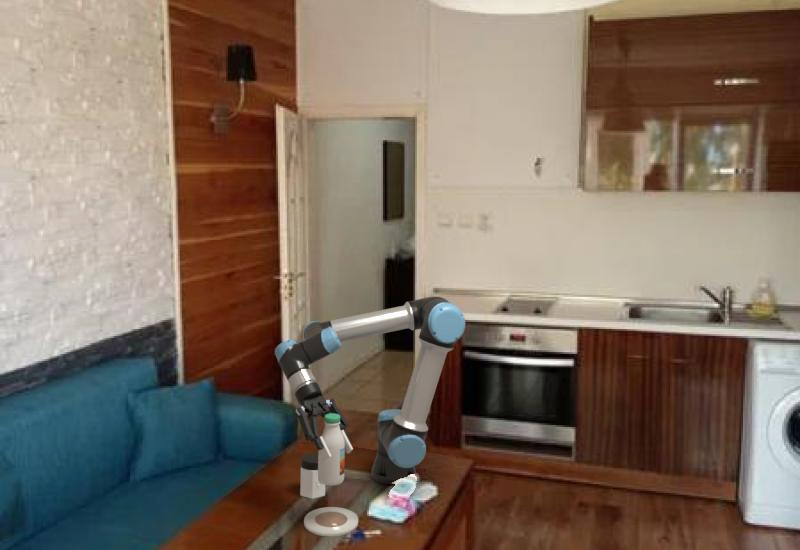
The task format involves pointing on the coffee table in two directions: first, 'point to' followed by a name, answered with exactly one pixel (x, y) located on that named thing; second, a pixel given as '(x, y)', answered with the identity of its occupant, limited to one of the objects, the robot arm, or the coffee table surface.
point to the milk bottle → (332, 452)
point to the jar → (310, 477)
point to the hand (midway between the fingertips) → (339, 454)
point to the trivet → (331, 521)
